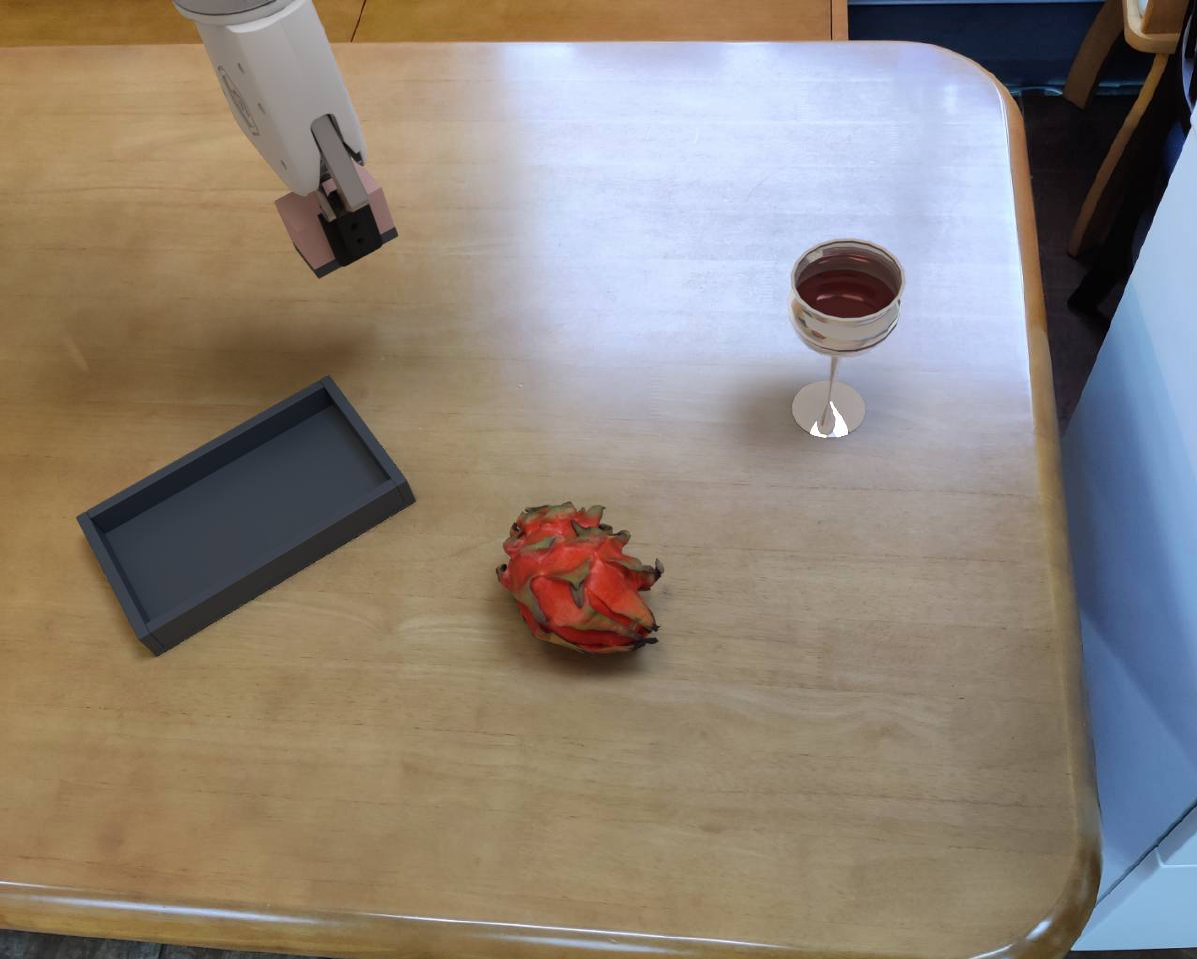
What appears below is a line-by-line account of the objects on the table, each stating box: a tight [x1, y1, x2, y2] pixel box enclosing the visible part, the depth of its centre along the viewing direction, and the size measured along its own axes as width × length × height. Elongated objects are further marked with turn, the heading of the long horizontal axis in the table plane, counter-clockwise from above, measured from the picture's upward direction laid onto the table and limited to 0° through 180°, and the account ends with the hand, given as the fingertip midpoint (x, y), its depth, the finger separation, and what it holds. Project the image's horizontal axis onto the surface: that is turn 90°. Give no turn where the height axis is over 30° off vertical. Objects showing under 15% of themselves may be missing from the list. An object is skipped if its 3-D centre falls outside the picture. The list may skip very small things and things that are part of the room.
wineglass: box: [787, 237, 907, 438], centre depth 67 cm, size 7×7×12 cm
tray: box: [75, 374, 417, 657], centre depth 71 cm, size 20×12×2 cm, turn 124°
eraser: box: [273, 159, 399, 280], centre depth 67 cm, size 6×4×4 cm, turn 124°
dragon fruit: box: [495, 500, 665, 658], centre depth 64 cm, size 8×8×12 cm
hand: (345, 234), depth 69 cm, fingers closed on eraser, 3 cm apart
